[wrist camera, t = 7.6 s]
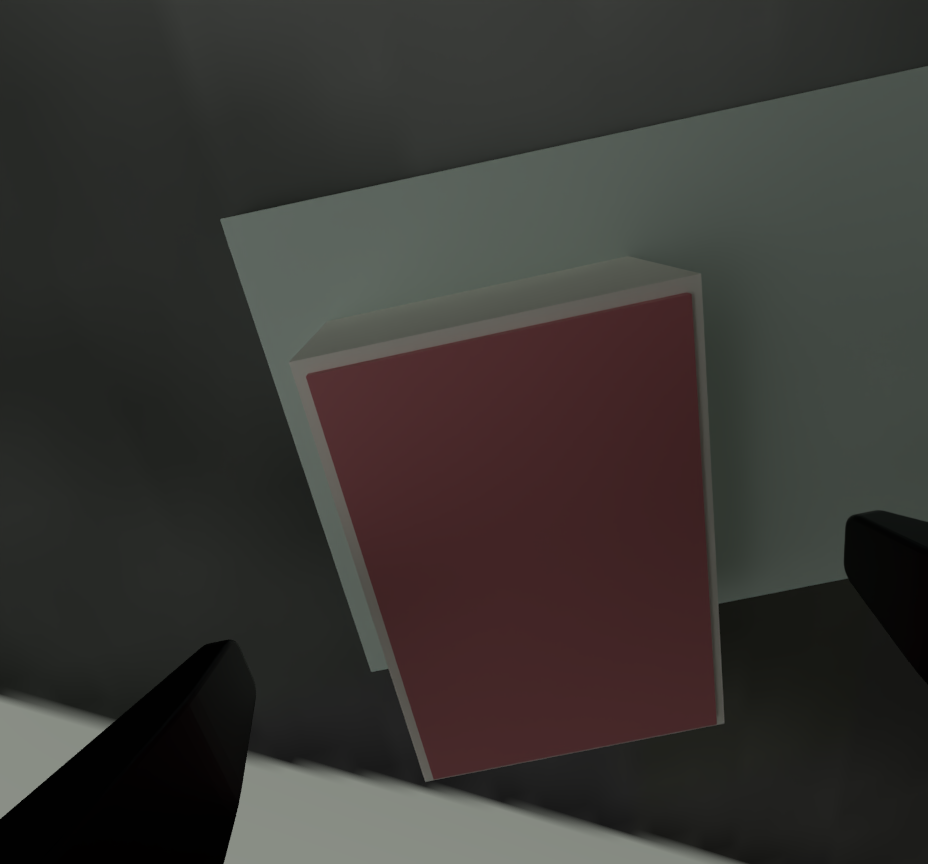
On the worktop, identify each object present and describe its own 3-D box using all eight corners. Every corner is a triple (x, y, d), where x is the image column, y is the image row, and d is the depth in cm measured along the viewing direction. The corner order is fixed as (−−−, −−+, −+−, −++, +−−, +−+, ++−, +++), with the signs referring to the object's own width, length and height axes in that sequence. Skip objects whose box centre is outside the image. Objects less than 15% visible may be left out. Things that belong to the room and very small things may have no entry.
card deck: (662, 614, 13) (728, 730, 10) (426, 661, 13) (425, 789, 10) (627, 255, 10) (706, 274, 7) (326, 321, 10) (286, 364, 7)
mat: (1144, 20, 10) (1180, 11, 9) (1045, 523, 13) (1067, 535, 13) (229, 219, 10) (220, 219, 10) (373, 656, 14) (371, 671, 13)
